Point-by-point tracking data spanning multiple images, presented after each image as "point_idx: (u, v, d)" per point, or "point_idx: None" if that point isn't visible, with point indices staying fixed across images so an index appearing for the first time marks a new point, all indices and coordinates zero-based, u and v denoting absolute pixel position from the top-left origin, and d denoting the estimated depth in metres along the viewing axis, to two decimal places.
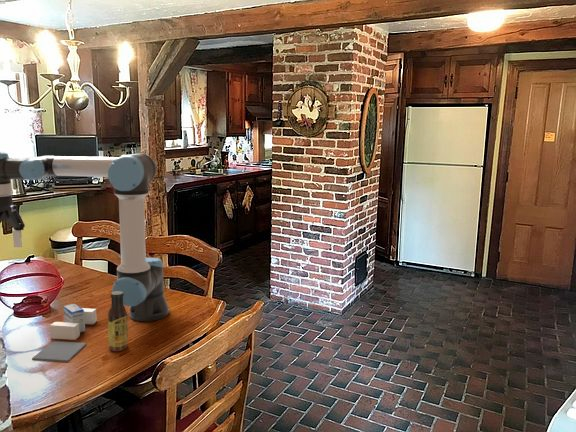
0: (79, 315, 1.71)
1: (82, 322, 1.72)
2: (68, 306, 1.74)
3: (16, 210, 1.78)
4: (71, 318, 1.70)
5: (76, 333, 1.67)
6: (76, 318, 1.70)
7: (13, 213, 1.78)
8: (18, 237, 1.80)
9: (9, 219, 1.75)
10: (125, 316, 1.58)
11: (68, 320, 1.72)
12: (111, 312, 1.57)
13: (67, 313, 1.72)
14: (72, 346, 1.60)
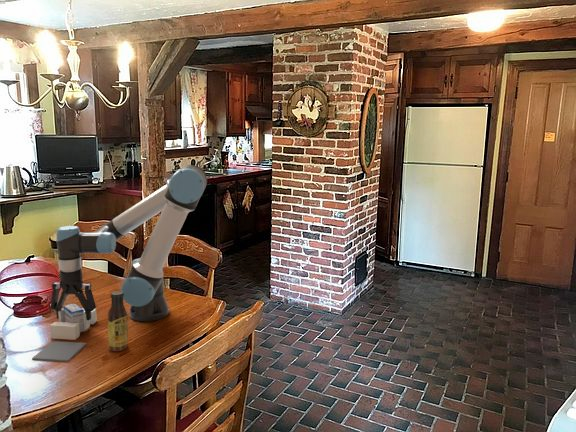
0: (79, 315, 1.71)
1: (82, 322, 1.72)
2: (68, 306, 1.74)
3: (86, 290, 1.70)
4: (71, 318, 1.70)
5: (76, 333, 1.67)
6: (76, 318, 1.70)
7: None
8: None
9: None
10: (125, 316, 1.58)
11: (68, 320, 1.72)
12: (111, 312, 1.57)
13: (67, 313, 1.72)
14: (72, 346, 1.60)
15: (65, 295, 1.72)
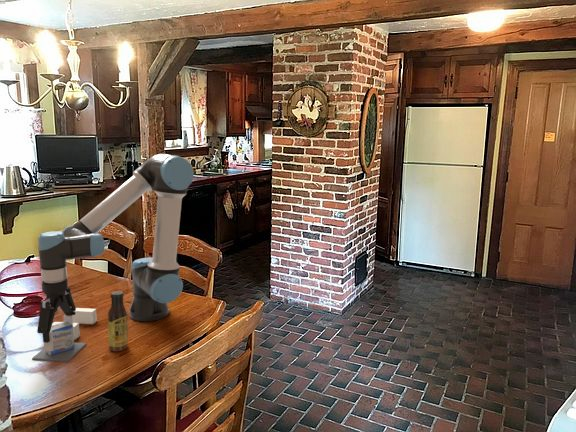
0: None
1: None
2: (52, 328, 1.54)
3: (69, 293, 1.60)
4: (69, 333, 1.57)
5: (76, 333, 1.67)
6: None
7: (65, 296, 1.60)
8: (70, 323, 1.62)
9: (62, 304, 1.57)
10: (125, 316, 1.58)
11: (62, 339, 1.56)
12: (111, 312, 1.57)
13: (61, 333, 1.55)
14: None
15: None
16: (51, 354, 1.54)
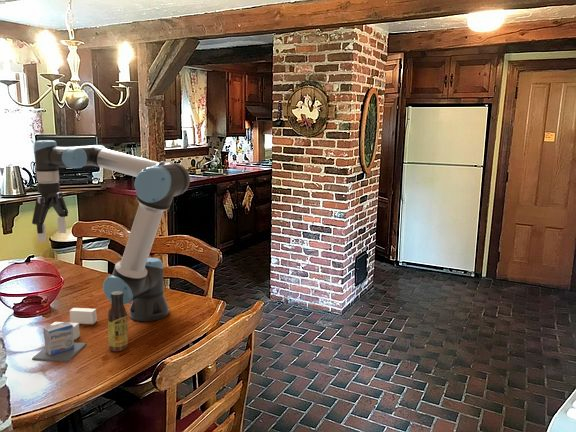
0: None
1: None
2: (52, 328, 1.54)
3: (61, 197, 1.84)
4: (69, 333, 1.57)
5: (76, 333, 1.67)
6: None
7: (58, 200, 1.84)
8: (63, 223, 1.86)
9: (55, 205, 1.82)
10: (125, 316, 1.58)
11: (62, 339, 1.56)
12: (111, 312, 1.57)
13: (61, 333, 1.55)
14: None
15: None
16: (51, 354, 1.54)
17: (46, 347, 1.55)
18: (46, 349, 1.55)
